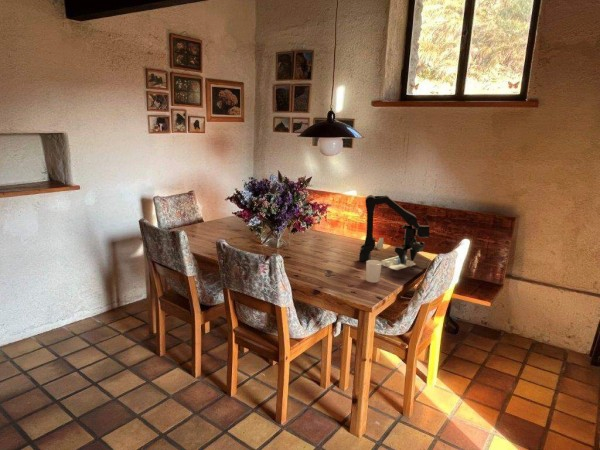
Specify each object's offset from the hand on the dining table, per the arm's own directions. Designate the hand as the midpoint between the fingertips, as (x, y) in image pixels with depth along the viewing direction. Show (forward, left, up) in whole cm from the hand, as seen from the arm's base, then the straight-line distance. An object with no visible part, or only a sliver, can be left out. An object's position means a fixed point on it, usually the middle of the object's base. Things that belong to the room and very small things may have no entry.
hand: (407, 262), depth 246 cm
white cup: (-34, -4, -2) cm, 34 cm away
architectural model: (+14, +33, -3) cm, 36 cm away
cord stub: (0, +2, -1) cm, 2 cm away
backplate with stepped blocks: (-4, +3, -2) cm, 6 cm away
